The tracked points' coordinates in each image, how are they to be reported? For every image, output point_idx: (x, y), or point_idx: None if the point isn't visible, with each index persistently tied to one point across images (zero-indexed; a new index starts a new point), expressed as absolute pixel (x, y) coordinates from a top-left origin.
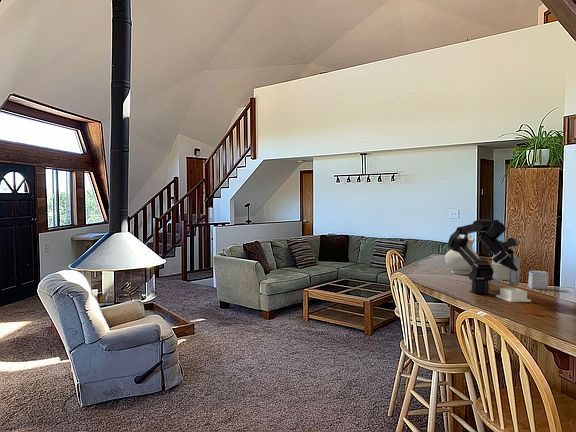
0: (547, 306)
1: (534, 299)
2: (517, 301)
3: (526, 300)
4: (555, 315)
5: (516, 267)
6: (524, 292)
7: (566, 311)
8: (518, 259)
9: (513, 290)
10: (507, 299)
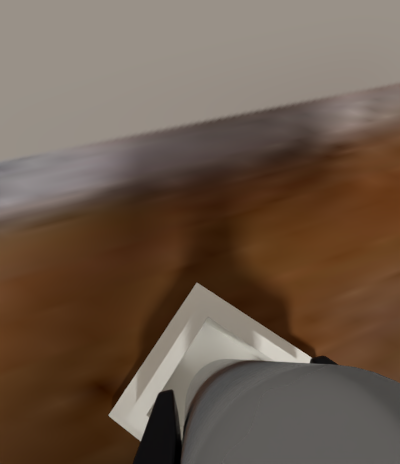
0: (241, 196)
1: (101, 298)
2: (274, 334)
3: (222, 300)
4: (391, 129)
5: None
6: (221, 310)
7: (272, 122)
8: (380, 381)
9: None
10: None
